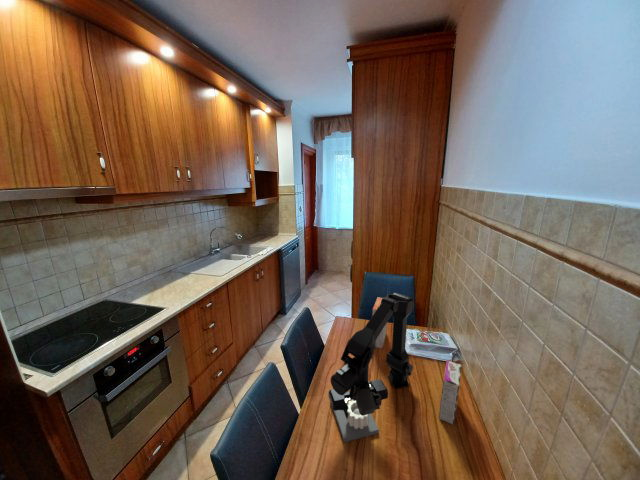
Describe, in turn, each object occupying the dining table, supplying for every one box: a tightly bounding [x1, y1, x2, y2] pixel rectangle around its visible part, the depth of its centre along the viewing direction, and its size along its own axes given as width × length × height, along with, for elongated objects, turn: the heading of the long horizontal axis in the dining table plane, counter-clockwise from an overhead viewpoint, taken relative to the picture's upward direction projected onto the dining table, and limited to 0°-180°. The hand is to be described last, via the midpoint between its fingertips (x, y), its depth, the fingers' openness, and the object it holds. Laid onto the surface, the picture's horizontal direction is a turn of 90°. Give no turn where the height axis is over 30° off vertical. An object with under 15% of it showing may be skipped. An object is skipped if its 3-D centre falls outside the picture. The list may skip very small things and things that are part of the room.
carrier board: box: [332, 400, 380, 443], centre depth 86 cm, size 12×15×6 cm
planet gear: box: [346, 400, 369, 429], centre depth 82 cm, size 8×8×4 cm
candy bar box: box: [438, 359, 462, 426], centre depth 87 cm, size 11×5×16 cm, turn 148°
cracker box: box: [371, 296, 388, 350], centre depth 126 cm, size 14×6×21 cm, turn 157°
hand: (357, 414), depth 82 cm, fingers closed on planet gear, 7 cm apart
